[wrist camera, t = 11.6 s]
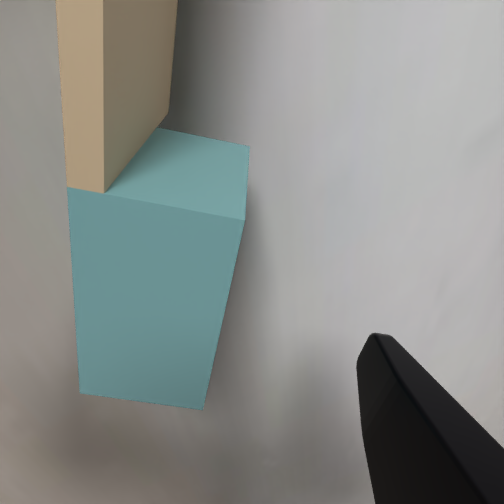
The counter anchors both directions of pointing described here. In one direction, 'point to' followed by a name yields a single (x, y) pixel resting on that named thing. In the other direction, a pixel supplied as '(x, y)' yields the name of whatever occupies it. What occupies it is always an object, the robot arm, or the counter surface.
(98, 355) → the carton flap
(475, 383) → the counter surface
